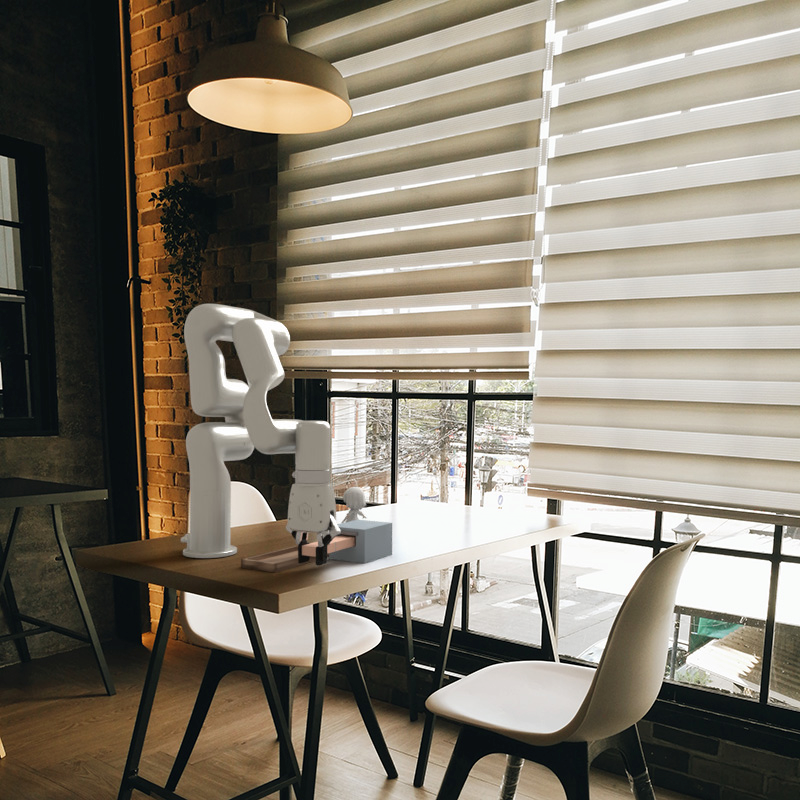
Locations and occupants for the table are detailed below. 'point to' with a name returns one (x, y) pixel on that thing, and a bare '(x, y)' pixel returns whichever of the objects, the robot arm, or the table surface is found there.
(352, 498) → the figurine
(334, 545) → the pink rectangular bar
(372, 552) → the dispenser
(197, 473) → the robot arm
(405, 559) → the table surface
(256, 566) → the tray
